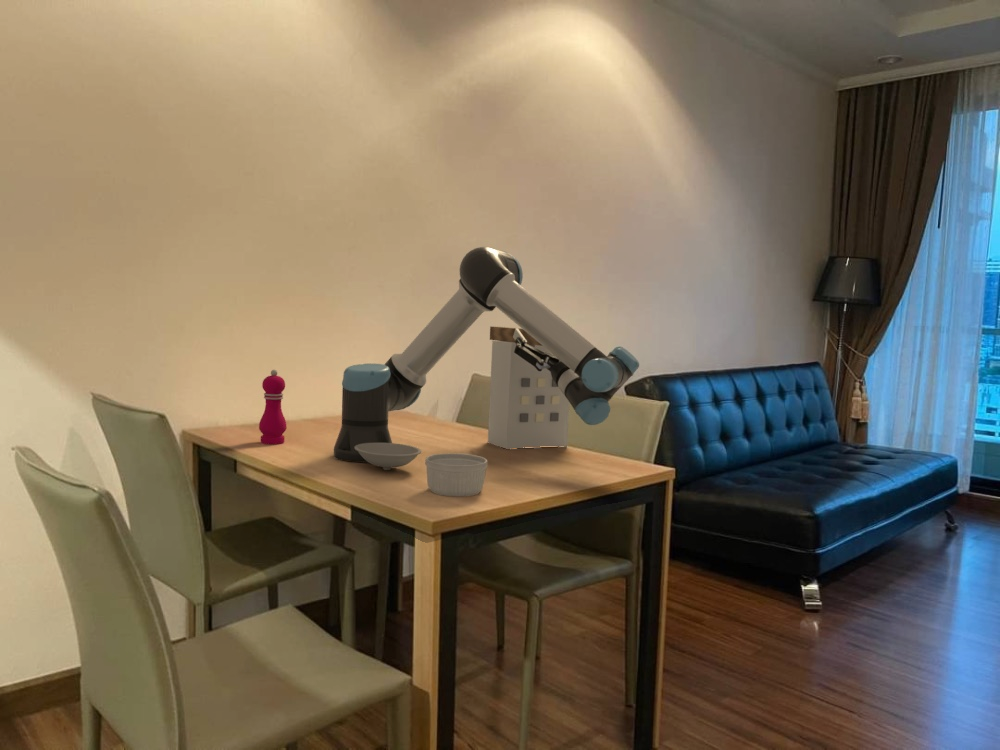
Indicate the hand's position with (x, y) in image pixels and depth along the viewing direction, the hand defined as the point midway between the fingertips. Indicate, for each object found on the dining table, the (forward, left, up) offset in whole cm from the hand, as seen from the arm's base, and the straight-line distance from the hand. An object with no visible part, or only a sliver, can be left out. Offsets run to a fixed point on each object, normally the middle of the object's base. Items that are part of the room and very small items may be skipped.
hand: (537, 333), depth 213 cm
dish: (-24, +41, -33) cm, 58 cm away
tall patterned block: (+12, -2, -33) cm, 35 cm away
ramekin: (-46, +28, -33) cm, 63 cm away
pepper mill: (+11, +70, -33) cm, 78 cm away
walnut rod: (+9, +2, -3) cm, 10 cm away
